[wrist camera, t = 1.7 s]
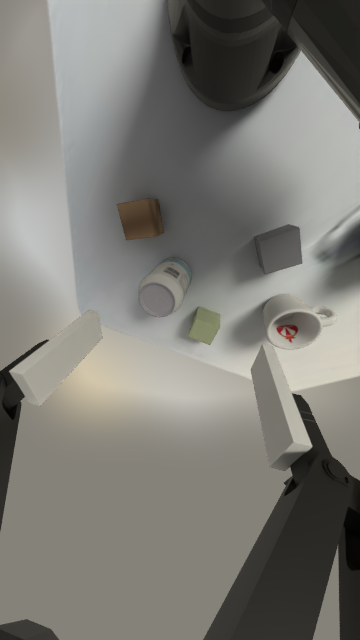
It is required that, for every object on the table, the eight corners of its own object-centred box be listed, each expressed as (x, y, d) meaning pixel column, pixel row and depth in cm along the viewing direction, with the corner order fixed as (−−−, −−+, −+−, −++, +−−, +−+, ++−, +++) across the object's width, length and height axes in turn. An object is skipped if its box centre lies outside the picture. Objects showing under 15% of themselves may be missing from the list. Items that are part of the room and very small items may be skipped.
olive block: (198, 306, 39) (195, 318, 34) (220, 314, 39) (219, 327, 34) (191, 323, 41) (187, 336, 37) (211, 331, 41) (210, 345, 37)
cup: (323, 281, 31) (350, 302, 24) (319, 319, 35) (342, 346, 28) (256, 293, 34) (264, 313, 28) (259, 326, 38) (267, 352, 32)
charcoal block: (254, 236, 29) (259, 241, 25) (287, 224, 28) (299, 227, 24) (259, 265, 32) (265, 274, 28) (291, 255, 30) (302, 263, 26)
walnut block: (131, 204, 31) (116, 204, 26) (158, 199, 29) (147, 198, 25) (138, 235, 33) (126, 240, 29) (163, 232, 32) (154, 236, 28)
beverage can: (152, 268, 36) (125, 292, 26) (179, 249, 33) (160, 268, 23) (171, 295, 38) (153, 327, 29) (198, 280, 35) (189, 309, 25)
